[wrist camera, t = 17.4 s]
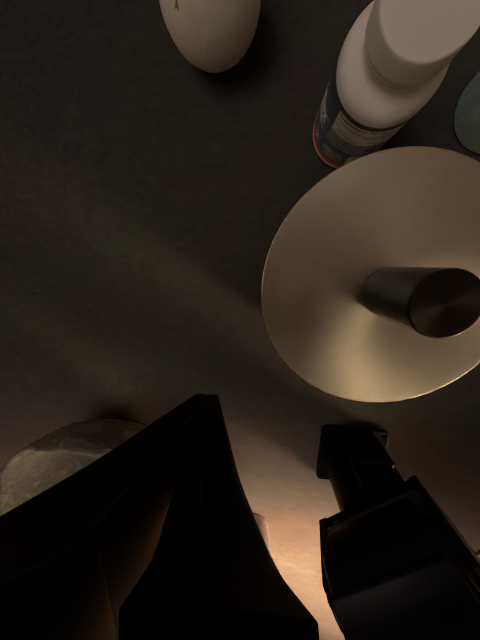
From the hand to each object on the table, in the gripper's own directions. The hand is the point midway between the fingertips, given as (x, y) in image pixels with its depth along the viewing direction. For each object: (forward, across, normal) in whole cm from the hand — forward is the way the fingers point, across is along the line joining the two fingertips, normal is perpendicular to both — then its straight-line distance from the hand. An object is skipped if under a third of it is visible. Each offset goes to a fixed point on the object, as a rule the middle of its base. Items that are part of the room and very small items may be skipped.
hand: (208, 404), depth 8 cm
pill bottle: (+13, -8, -15) cm, 22 cm away
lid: (+4, -8, -4) cm, 10 cm away
